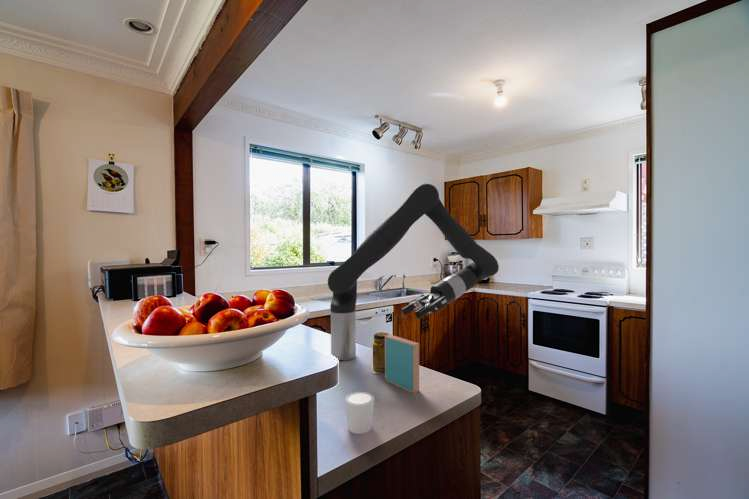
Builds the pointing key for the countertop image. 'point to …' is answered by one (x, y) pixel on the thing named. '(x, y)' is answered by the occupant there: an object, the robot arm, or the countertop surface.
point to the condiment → (379, 353)
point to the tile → (402, 363)
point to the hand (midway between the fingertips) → (409, 314)
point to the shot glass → (359, 412)
